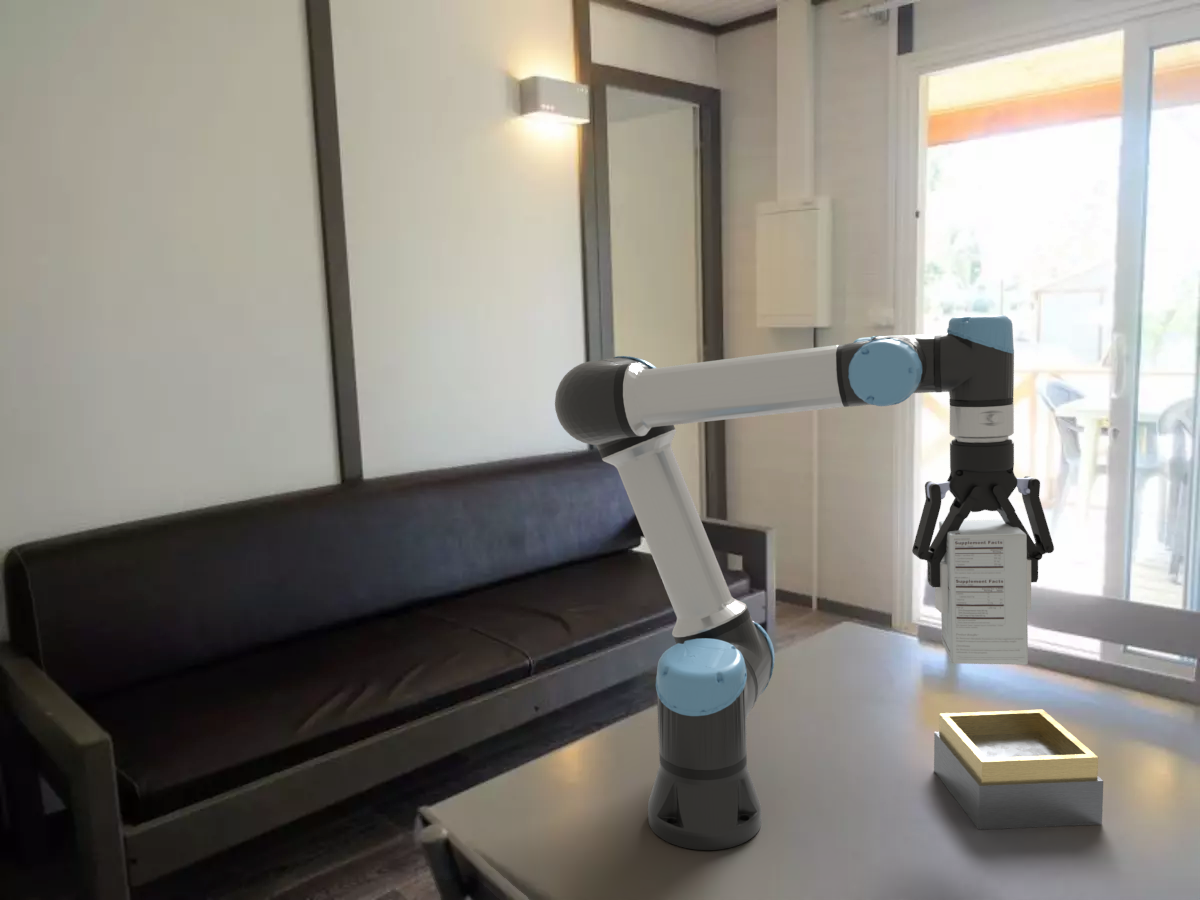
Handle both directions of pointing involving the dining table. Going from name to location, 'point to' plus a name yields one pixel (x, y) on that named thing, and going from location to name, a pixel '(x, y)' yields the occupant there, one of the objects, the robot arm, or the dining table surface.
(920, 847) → the dining table surface
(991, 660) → the supplement box
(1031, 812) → the gray square bin
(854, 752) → the dining table surface
